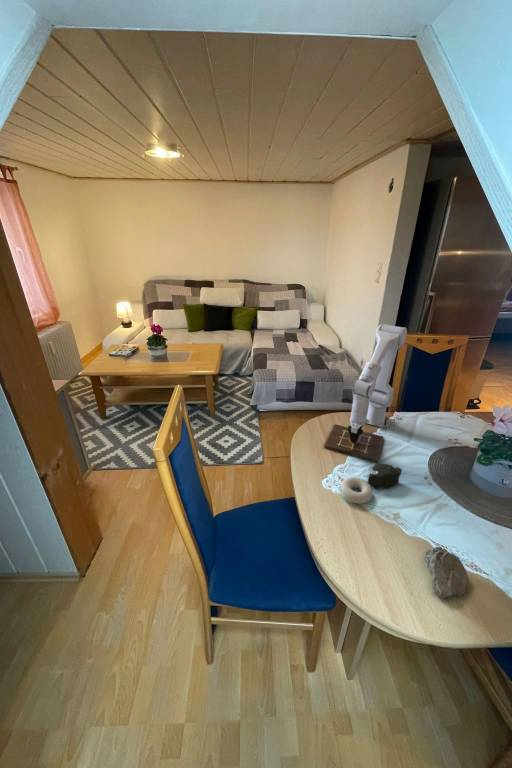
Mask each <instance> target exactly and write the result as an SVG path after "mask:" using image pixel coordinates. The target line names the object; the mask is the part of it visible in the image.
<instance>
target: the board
mask: <svg viewBox="0 0 512 768" xmlns="http://www.w3.org/2000/svg"><path fill="white" fill-rule="evenodd" d="M347 428H348V426H345V425H344V426H343V425H339V424H336V423H335V424H334V425H333V427H332V430H331V432H330V434H329V436H328V437H327V440H326V442H325V444H324V448H325V449H328V450H332V451H335V452H339V453H342V454H346V455H348V456H352V457H355V458H359V459H362V460H366V461H369V462H373V463H376V464H379V463H378V462H379V458H380V453H381V450H382V445H383V440H384V436H382V435H379V434H375V433H371V432H367V431H363V433H362V434H361V435H360V436H361V438H360V442H358V443H352V442H351V441H350V434H349V432H348V429H347Z"/></svg>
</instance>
